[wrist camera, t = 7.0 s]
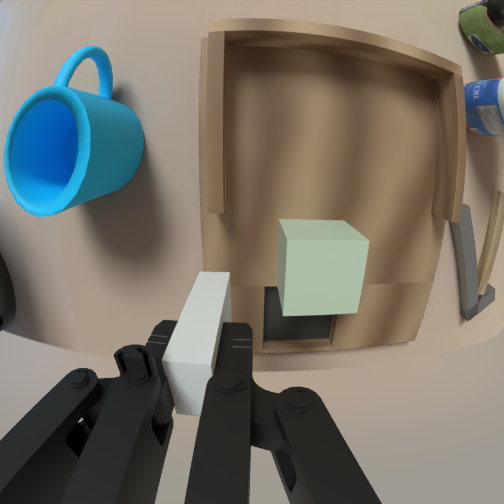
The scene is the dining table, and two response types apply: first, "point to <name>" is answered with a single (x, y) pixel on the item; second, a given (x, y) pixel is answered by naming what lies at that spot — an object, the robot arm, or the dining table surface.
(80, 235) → the dining table surface
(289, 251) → the block
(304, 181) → the cubby deck
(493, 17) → the beverage can
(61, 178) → the mug
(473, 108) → the pill bottle
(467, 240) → the crook tool
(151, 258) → the dining table surface
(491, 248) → the dowel
